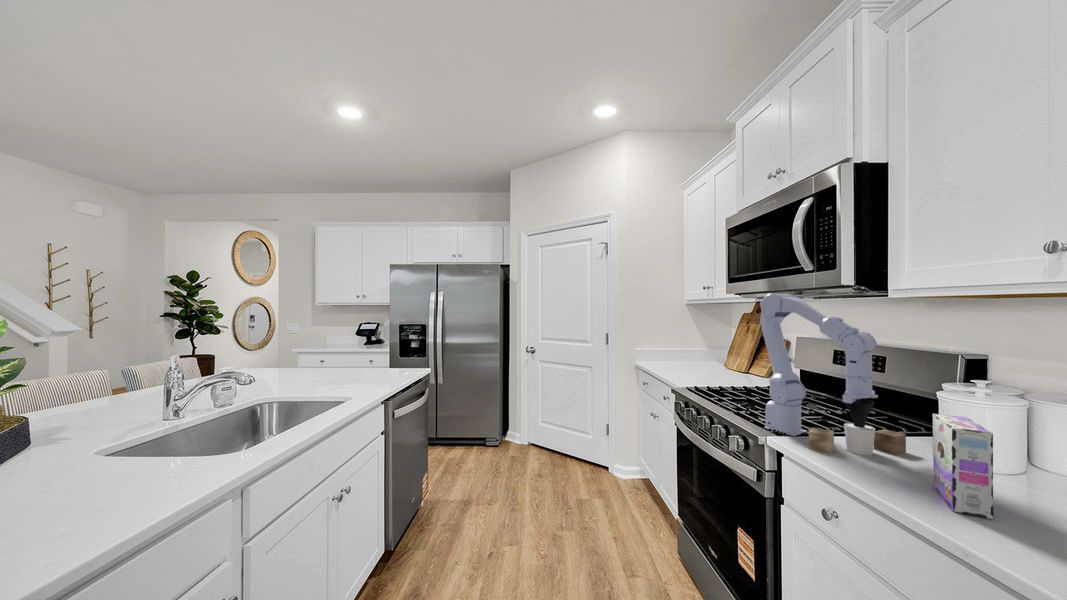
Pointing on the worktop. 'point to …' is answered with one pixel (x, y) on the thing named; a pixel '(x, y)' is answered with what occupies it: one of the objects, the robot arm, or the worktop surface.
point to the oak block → (821, 440)
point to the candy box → (963, 465)
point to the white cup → (859, 439)
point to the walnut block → (890, 442)
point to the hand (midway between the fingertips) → (859, 426)
